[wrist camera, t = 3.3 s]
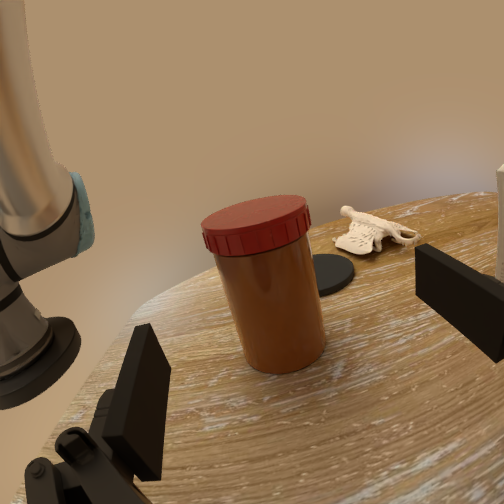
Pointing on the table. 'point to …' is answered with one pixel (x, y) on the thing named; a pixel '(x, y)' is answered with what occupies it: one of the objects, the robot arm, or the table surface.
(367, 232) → the white dragon
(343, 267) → the coaster
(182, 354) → the table surface
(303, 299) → the jar
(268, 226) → the lid
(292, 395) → the table surface
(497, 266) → the white packaging box
